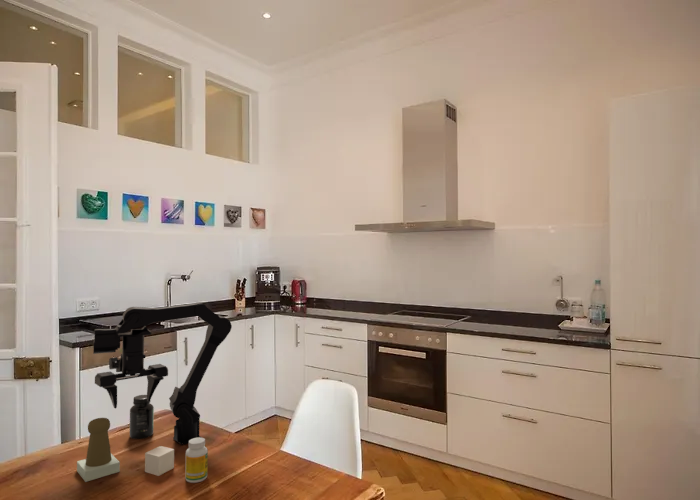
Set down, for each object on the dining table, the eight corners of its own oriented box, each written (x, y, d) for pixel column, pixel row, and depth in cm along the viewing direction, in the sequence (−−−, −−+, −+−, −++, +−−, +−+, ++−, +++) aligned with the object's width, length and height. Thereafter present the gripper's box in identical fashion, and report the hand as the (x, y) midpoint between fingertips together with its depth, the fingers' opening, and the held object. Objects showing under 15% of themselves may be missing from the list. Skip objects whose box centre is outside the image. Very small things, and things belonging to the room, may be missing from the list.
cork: (105, 466, 117) (105, 423, 118) (80, 467, 117) (81, 423, 117) (115, 456, 123) (116, 415, 124) (92, 456, 123) (92, 415, 123)
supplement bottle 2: (184, 475, 118) (184, 438, 118) (205, 471, 120) (206, 434, 120) (186, 485, 113) (187, 446, 113) (209, 480, 116) (209, 442, 116)
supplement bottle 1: (158, 432, 147) (158, 394, 147) (143, 440, 140) (144, 401, 140) (139, 430, 148) (139, 392, 148) (124, 438, 142) (124, 399, 142)
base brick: (109, 461, 126) (110, 452, 126) (119, 471, 120) (119, 461, 120) (76, 470, 120) (76, 461, 120) (85, 481, 114) (85, 471, 114)
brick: (160, 464, 125) (160, 445, 125) (173, 468, 122) (174, 449, 122) (144, 472, 120) (145, 452, 120) (158, 476, 118) (158, 456, 118)
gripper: (154, 342, 146) (153, 392, 146) (89, 350, 133) (88, 404, 133) (169, 348, 138) (168, 400, 138) (101, 357, 125) (100, 414, 125)
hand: (132, 404), depth 134 cm, fingers open, 9 cm apart
